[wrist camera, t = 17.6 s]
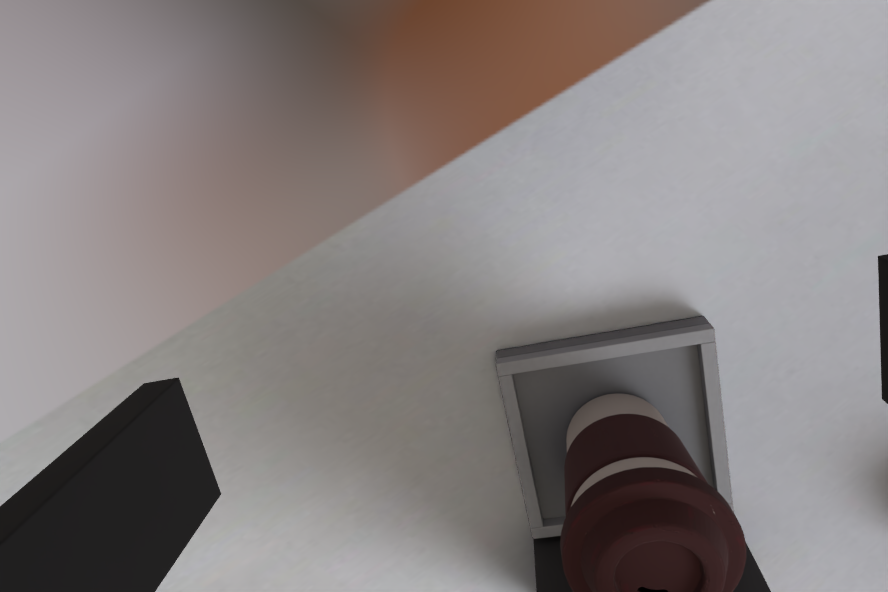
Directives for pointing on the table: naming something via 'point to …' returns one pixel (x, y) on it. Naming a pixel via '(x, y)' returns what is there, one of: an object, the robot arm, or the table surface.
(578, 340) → the coffee machine
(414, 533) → the table surface
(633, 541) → the coffee cup
